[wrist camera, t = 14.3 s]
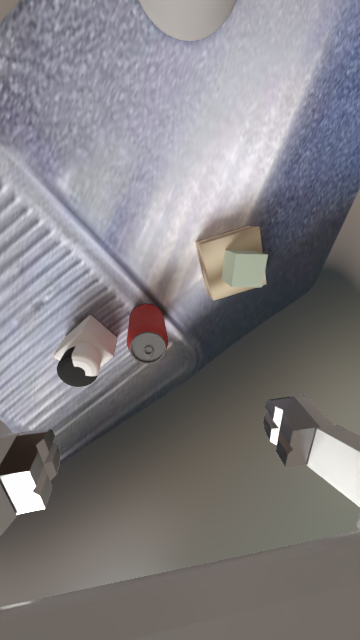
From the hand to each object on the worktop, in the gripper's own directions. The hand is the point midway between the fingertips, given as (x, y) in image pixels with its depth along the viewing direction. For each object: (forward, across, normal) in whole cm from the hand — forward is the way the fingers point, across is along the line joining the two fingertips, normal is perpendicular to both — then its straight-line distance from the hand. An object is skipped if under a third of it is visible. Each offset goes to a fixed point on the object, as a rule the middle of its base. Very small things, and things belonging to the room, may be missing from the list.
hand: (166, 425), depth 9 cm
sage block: (+32, -15, +1) cm, 36 cm away
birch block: (+38, -15, +1) cm, 40 cm away
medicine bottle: (+37, +12, +14) cm, 42 cm away
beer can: (+37, +1, +11) cm, 39 cm away
